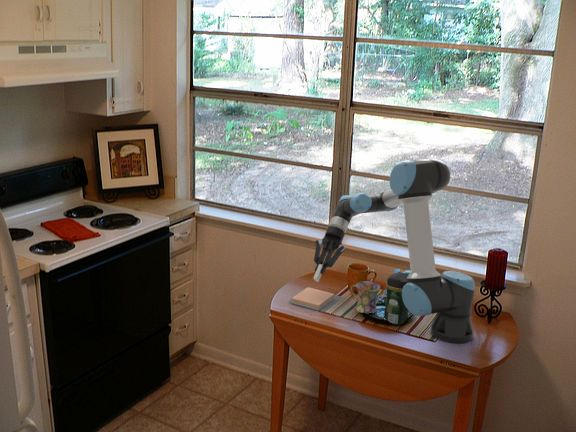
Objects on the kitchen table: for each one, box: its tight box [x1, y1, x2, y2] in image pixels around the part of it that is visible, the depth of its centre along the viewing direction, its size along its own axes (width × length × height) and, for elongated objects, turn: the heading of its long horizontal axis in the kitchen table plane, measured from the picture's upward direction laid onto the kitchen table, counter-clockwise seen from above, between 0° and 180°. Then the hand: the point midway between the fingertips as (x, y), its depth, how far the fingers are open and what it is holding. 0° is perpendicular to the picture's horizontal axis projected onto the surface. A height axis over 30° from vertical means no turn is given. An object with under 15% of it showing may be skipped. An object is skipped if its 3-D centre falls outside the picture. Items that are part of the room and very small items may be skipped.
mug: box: [350, 280, 381, 314], centre depth 254 cm, size 12×9×11 cm
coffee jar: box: [383, 271, 409, 326], centre depth 245 cm, size 10×8×19 cm
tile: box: [290, 286, 335, 311], centre depth 260 cm, size 2×12×14 cm
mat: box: [287, 294, 345, 313], centre depth 261 cm, size 18×16×1 cm
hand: (315, 280), depth 259 cm, fingers closed
